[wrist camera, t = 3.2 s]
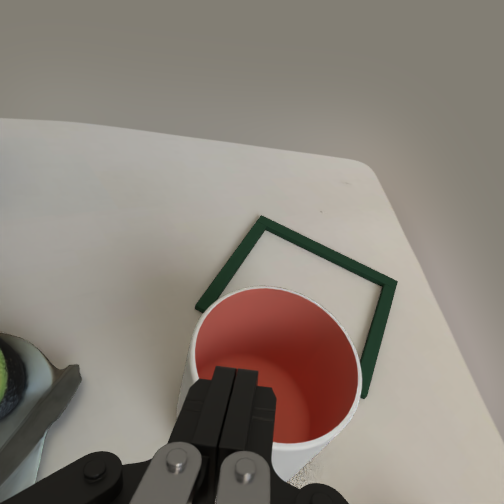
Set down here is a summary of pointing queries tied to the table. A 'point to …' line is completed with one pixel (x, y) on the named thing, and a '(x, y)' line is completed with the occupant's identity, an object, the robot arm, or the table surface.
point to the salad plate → (28, 409)
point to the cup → (282, 365)
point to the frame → (386, 282)
